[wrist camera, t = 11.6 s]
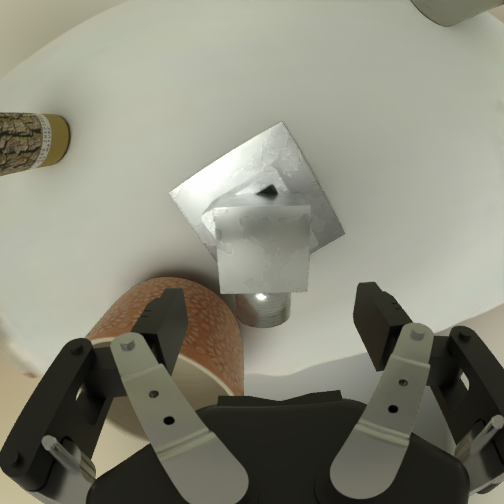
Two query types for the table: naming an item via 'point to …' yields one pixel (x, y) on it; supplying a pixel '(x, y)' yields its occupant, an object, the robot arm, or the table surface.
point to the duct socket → (257, 186)
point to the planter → (192, 350)
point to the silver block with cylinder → (262, 253)
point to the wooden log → (31, 141)
